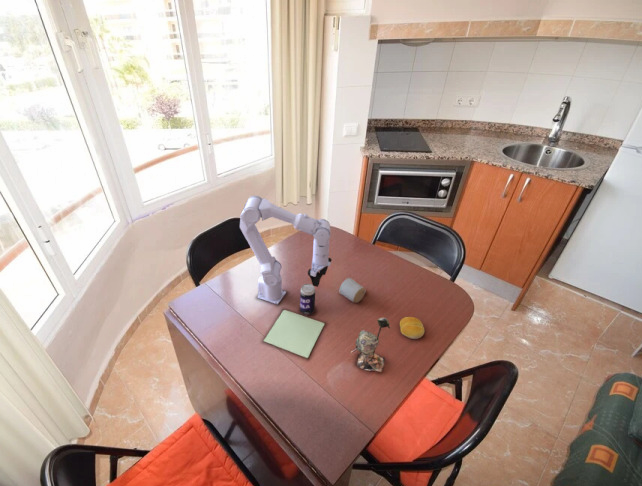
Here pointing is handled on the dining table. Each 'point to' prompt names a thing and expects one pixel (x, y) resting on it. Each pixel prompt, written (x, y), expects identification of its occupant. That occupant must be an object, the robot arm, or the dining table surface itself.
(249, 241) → the robot arm
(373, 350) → the grey figurine
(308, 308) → the beverage can
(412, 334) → the bread roll
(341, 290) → the white cylinder
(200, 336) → the dining table surface
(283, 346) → the mat
